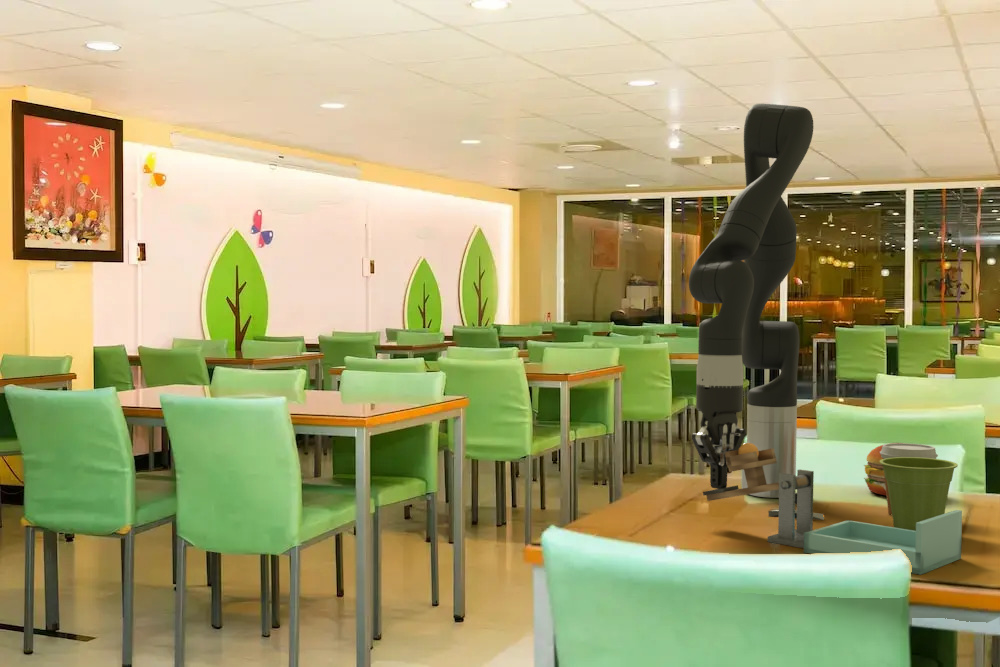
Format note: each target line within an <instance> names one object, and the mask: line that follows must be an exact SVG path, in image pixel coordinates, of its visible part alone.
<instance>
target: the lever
mask: <svg viewBox="0 0 1000 667" xmlns="http://www.w3.org/2000/svg"><path fill="white" fill-rule="evenodd" d="M758 452H759V455H758V456H757V452H756V451H755V452H750V453H744V454H739V455H738V450H734V451H728V452H725V457H726V461H727V469H728V472H729V473H731V472H735V471H736V472H737V471H742V470H743V469H744V472H745V476H746V481H747V486H748V488H742V487H741V488H739V485H732V486H727V487H726V488H721V489H717V488H714V489H711V490H710V489H709V490H705V491H702V495H703V496H706V500H707V502H710V501H716V500H723V499H728V498H734V497H740V496H745V495H750V494H753V493H759V492H765V491H771V490H777V489H779V482H777V483H771V484H767V483H766V479H765V474H764V470H763V466H764V465H769V464H774V463H777V460H776V456H775V452H774V448H772V449H767V450H762V451H758ZM808 484H809V480H808V478H807V477H806V476H805V475H799V476H797V475H796V484H795V491H797V489H801V488H805V487H807V486H808Z"/></svg>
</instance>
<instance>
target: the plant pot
mask: <svg viewBox="0 0 1000 667" xmlns="http://www.w3.org/2000/svg"><path fill="white" fill-rule="evenodd" d="M880 464H882V465H883V469H884V474H885V478H886V479H887V485H888V492H889V498H890V504H891V511H892V515H891V516H892V522H893V527H895V528H901V529H907V530H914V531H916V523H917V522H920V521H923V520H927V519H930V518H933V517H936V516H939V515H942V514H945V513H946V507H947V503H948V502H947V501H948V496H949V490H950V485H951V482H952V481H953V476H954V472H955V471H954V470H955V469H956V468H958V465H959V464H958V463H957V462H955V461H951V460H948V459H947V460H946V459H940V458H936V459H932V458H920V457H894V458H885V459H882V460H880Z"/></svg>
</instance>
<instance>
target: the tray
mask: <svg viewBox="0 0 1000 667" xmlns="http://www.w3.org/2000/svg"><path fill="white" fill-rule="evenodd" d="M962 520H963V510H960V509H955V510H951V511H948V512H945V514H942V515H939V516H936V517H933V518H930V519H927V520H923V521H920V522H917V523H916V531H914V530H907V529H901V528H895V527H894V526H888V525H887V526H886V525H881V524H874V523H868V522H862V521H854V520H851V519H850V520H849V519H847V520H844V521H840V522H837V523H833V524H830V525H826V526H823V527H820V528H815V529H813V530H812V531H809V532H805V533H804V548H803V554H806V553H850V552H871V551H883V550H892V549H901V550H902V551H903V552H904V553H905V554H906V556H907V557H908V558H909V560H910V562H911V565H912V573H911V574H914V575H921V576H922V575H923V574H927V573H929V572H931V571H933V570H936V569H939V568H942V567H944V566H946V565H949V564H951V563H953V562H957V561H958V560H960V559H961V560H962V532H963V530H962V527H963V523H962V522H963V521H962Z"/></svg>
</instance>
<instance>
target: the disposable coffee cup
mask: <svg viewBox="0 0 1000 667" xmlns="http://www.w3.org/2000/svg"><path fill="white" fill-rule="evenodd" d="M889 443H890V442H889ZM889 443H884V444H882V445H883V446H882V450H881V451H880V454H881V457H882V459H885V458H894V457H920V458H932V459H937V458H938V457H939V454H937V451H936V447H935V446H933V445H928V444H921V443H920V444H919V443H904V442H891V443H890V444H889ZM884 478H885V474H884ZM885 486H886V495H887V496H886V495H885V496H886V501H887V502H886V504H887V513H889V515H890V514H892V511H891V504H890V498H889V492H888V485H887V479H886V478H885Z"/></svg>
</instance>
